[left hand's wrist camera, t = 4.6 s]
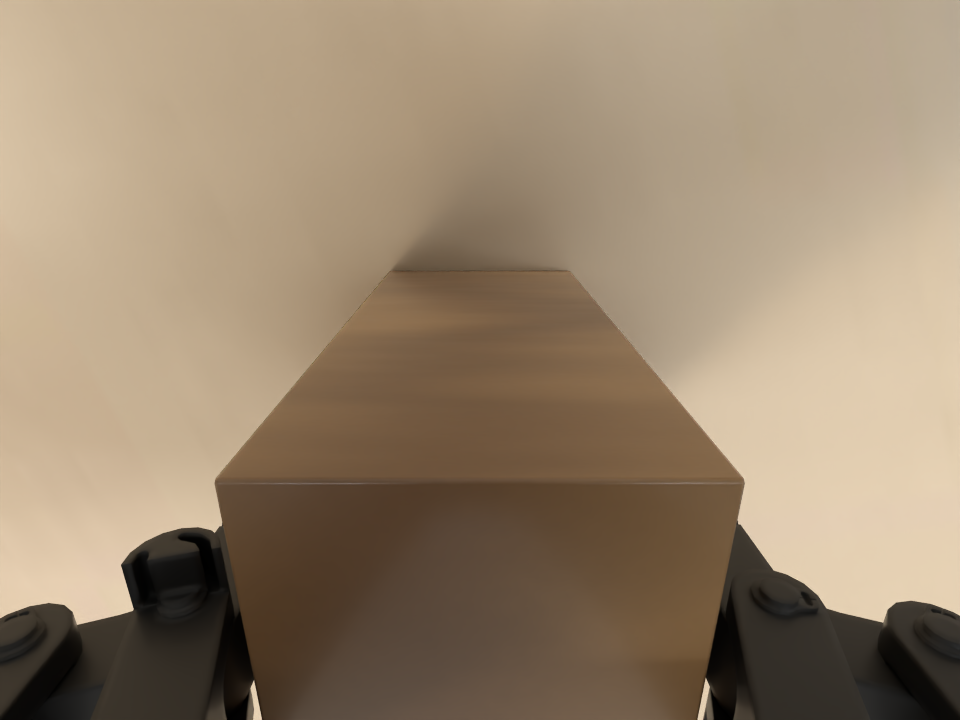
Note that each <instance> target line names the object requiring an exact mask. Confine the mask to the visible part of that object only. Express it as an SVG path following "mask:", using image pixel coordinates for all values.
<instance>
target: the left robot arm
mask: <svg viewBox="0 0 960 720" xmlns="http://www.w3.org/2000/svg"><path fill="white" fill-rule="evenodd" d="M121 567H122V570H123V573H124V577H125V580H126V584H127V587H128V591H129V594H130V598H131V601H132V604H133V608H134V610H133V611H132V612H128V613H125V614H122V615H118V616H114V617H109V618H105V619H101V620H97V621H92V622H88V623H84V624H80V625H77V624H76V621H75V618H74V615H73V612H72V611H71V610H69V609H68V608H67V607H66V606H65V605H59V604H51V603H47V604H41V605H35V606H29V607H27V608H24V609H21V610H18V611H15V612H13V613H10V614H8V615H6V616H4V617H2V618H0V720H253V714H254V706H253V699H252V694H251V689H250V688H251V685H252V683H253V681H254V676H253V671H252V666H251V661H250V656H249V651H248V646H247V641H246V636H245V632H244V627H243V622H242V617H241V612H240V607H239V602H238V597H237V592H236V587H235V582H234V577H233V572H232V567H231V562H230V557H229V552H228V547H227V542H226V537H225V532H224V527H223V523H222V526H220V527H219V528H218V530H217V531H216V532H215V533H214V532H213V531H211V530H207V529H203V528H199V527H197V528H181V529H177V530H174V531H170V532H166V533H163V534H161V535H158V536H156V537H154V538H152V539H150V540H148V541H146V542H144V543H143V544H141V545H140V546H139V547H137V548H136V549H135V550H133V551H132V552H131V553H130V554H129V555H128V556H127V558H126V559H125V560H124V562H123V563H122V564H121ZM706 679H707V681H708V683H709V686H710V689H709V694H708V699H707V703H706V708H705V713H704V718H703V720H960V616H959V615H957V614H955V613H954V612H951V611H948V610H946V609H943V608H940V607H937V606H935V605H932V604H927V603H921V602H915V601H906V602H898V603H895V604H894V605H893V606H892V607H890V608H889V609H888V611H887V614H886V617H885V620H884V623H882V622H877V621H873V620H869V619H864V618H860V617H856V616H852V615H847V614H843V613H839V612H836V611H832V610H829V609H826V607H825V606H824V604H823V603H822V601H821V600H820V598H819V597H818V595H817V594H815V593H814V592H813V591H812V590H811V589H809V588H808V587H807V586H806V585H805V584H803V583H801V582H800V581H798V580H796V579H794V578H792V577H790V576H788V575H786V574H783V573H779V572H776V571H773V569H772V568H771V566H770V565H769V564H768V562H767V561H766V560H765V558H764V557H763V555H762V554H761V553H760V551H759V550H758V548H757V547H756V546H755V544H754V543H753V542H752V540H751V539H750V537H749V536H748V535H747V533H746V532H745V530H744V529H743V528H742V526H741V525H738V521H737V524H736V529H735V534H734V539H733V544H732V549H731V554H730V559H729V564H728V569H727V574H726V579H725V584H724V589H723V594H722V599H721V604H720V609H719V614H718V619H717V624H716V628H715V633H714V638H713V643H712V648H711V653H710V658H709V663H708V668H707V673H706Z"/></svg>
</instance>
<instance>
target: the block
mask: <svg viewBox="0 0 960 720" xmlns="http://www.w3.org/2000/svg"><path fill="white" fill-rule="evenodd" d="M744 484H745V483H744V479H743V477H742V476H741V475H740V474H739V472H738V471H737V470H736V469H735V468H734V466H733V465H732V464H731V463H730V462H729V461H728V459H727V458H726V457H725V456H724V455H723V453H722V452H721V451H720V450H719V449H718V447H717V446H716V445H715V444H714V443H713V441H712V440H711V439H710V438H709V437H708V435H707V434H706V433H705V432H704V431H703V429H702V428H701V427H700V426H699V425H698V424H697V422H696V421H695V420H694V419H693V418H692V416H691V415H690V414H689V413H688V412H687V410H686V409H685V408H684V407H683V406H682V404H681V403H680V402H679V401H678V400H677V398H676V397H675V396H674V395H673V394H672V392H671V391H670V390H669V389H668V388H667V387H666V385H665V384H664V383H663V382H662V381H661V379H660V378H659V377H658V376H657V375H656V373H655V372H654V371H653V370H652V369H651V367H650V366H649V365H648V364H647V363H646V361H645V360H644V359H643V358H642V357H641V356H640V354H639V353H638V352H637V351H636V350H635V348H634V347H633V346H632V345H631V344H630V342H629V341H628V340H627V339H626V338H625V336H624V335H623V334H622V333H621V332H620V330H619V329H618V328H617V327H616V326H615V324H614V323H613V322H612V321H611V320H610V319H609V317H608V316H607V315H606V314H605V313H604V311H603V310H602V309H601V308H600V307H599V305H598V304H597V303H596V302H595V301H594V299H593V298H592V297H591V296H590V295H589V293H588V292H587V291H586V290H585V289H584V288H583V286H582V285H581V284H580V283H579V282H578V280H577V279H576V278H575V277H574V276H573V274H572V273H571V272H570V271H390V272H389V273H388V274H387V275H386V276H385V278H384V279H383V280H382V281H381V282H380V284H379V285H378V286H377V287H376V288H375V290H374V291H373V292H372V293H371V294H370V296H369V297H368V298H367V299H366V300H365V301H364V303H363V304H362V305H361V306H360V307H359V309H358V310H357V311H356V312H355V313H354V315H353V316H352V317H351V318H350V319H349V320H348V322H347V323H346V324H345V325H344V326H343V328H342V329H341V330H340V331H339V332H338V334H337V335H336V336H335V337H334V338H333V340H332V341H331V342H330V343H329V344H328V345H327V347H326V348H325V349H324V350H323V351H322V353H321V354H320V355H319V356H318V357H317V359H316V360H315V361H314V362H313V363H312V365H311V366H310V367H309V368H308V369H307V370H306V372H305V373H304V374H303V375H302V376H301V378H300V379H299V380H298V381H297V382H296V384H295V385H294V386H293V387H292V388H291V390H290V391H289V392H288V393H287V394H286V395H285V397H284V398H283V399H282V400H281V401H280V403H279V404H278V405H277V406H276V407H275V409H274V410H273V411H272V412H271V413H270V415H269V416H268V417H267V418H266V419H265V420H264V422H263V423H262V424H261V425H260V426H259V428H258V429H257V430H256V431H255V432H254V434H253V435H252V436H251V437H250V438H249V440H248V441H247V442H246V443H245V444H244V445H243V447H242V448H241V449H240V450H239V451H238V453H237V454H236V455H235V456H234V457H233V459H232V460H231V461H230V462H229V463H228V465H227V466H226V467H225V468H224V469H223V470H222V472H221V473H220V474H219V475H218V476H217V478H216V480H215V488H216V493H217V497H218V502H219V507H220V512H221V517H222V522H223V527H224V532H225V537H226V542H227V547H228V552H229V557H230V562H231V567H232V572H233V577H234V582H235V587H236V592H237V597H238V602H239V607H240V612H241V617H242V622H243V627H244V632H245V636H246V641H247V646H248V651H249V656H250V661H251V666H252V671H253V676H254V681H255V686H256V691H257V696H258V701H259V706H260V711H261V716H262V720H697V718H698V713H699V708H700V703H701V698H702V693H703V688H704V683H705V678H706V673H707V668H708V663H709V658H710V653H711V648H712V643H713V638H714V633H715V628H716V624H717V619H718V614H719V609H720V604H721V599H722V594H723V589H724V584H725V579H726V574H727V569H728V564H729V559H730V554H731V549H732V544H733V539H734V534H735V529H736V524H737V519H738V514H739V509H740V504H741V499H742V494H743V489H744Z"/></svg>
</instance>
